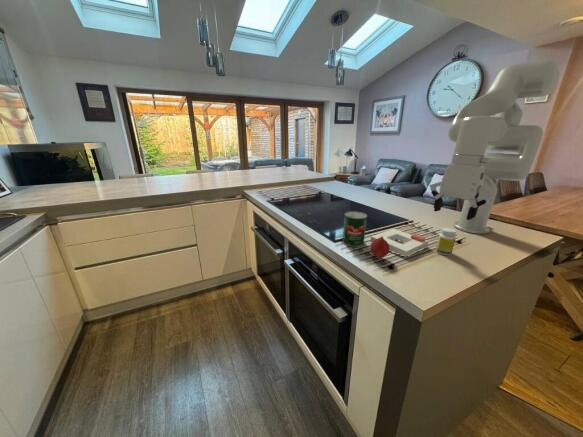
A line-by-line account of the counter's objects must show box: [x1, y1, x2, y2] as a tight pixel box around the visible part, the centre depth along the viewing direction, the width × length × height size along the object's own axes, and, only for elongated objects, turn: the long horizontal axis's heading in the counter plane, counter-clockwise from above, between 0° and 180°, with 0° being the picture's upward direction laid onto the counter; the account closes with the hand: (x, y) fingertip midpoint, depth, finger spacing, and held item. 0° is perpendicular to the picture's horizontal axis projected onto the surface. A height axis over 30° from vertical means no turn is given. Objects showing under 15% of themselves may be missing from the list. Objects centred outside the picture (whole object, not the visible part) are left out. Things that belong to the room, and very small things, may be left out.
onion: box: [370, 236, 390, 260], centre depth 76 cm, size 6×6×8 cm
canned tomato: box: [342, 210, 368, 247], centre depth 87 cm, size 8×8×11 cm
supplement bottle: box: [435, 227, 457, 256], centre depth 80 cm, size 5×5×8 cm
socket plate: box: [369, 228, 430, 256], centre depth 86 cm, size 14×14×4 cm
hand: (452, 214), depth 76 cm, fingers open, 9 cm apart
